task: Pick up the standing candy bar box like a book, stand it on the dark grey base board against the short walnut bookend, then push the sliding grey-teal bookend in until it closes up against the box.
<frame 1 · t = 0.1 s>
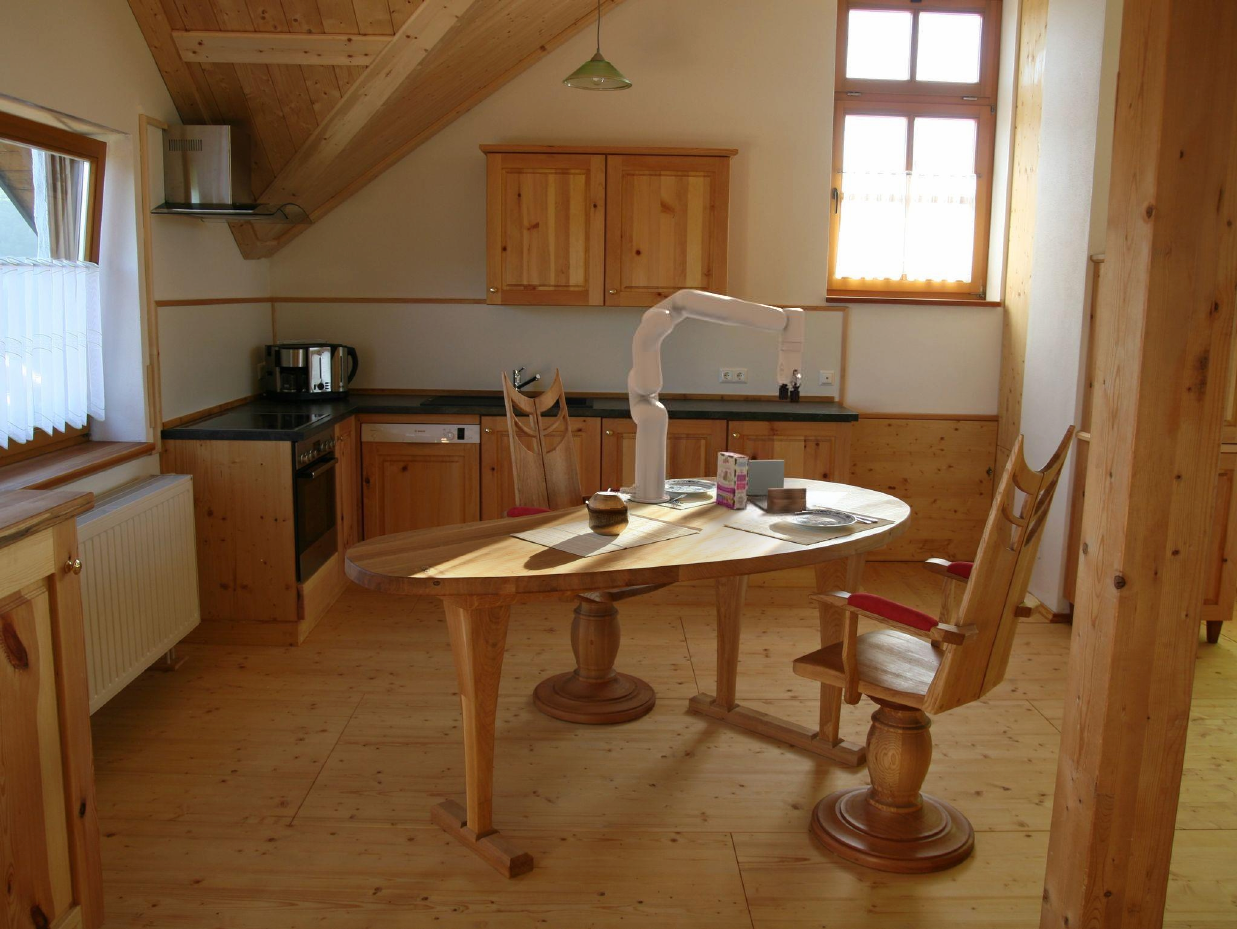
hand: (788, 401, 343), 31 cm above the table, fingers open, 9 cm apart
book rack: (777, 505, 334), on the table
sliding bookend: (761, 475, 349), point 7 cm above the table, slide at 0.0 cm
candy bar box: (731, 507, 332), on the table
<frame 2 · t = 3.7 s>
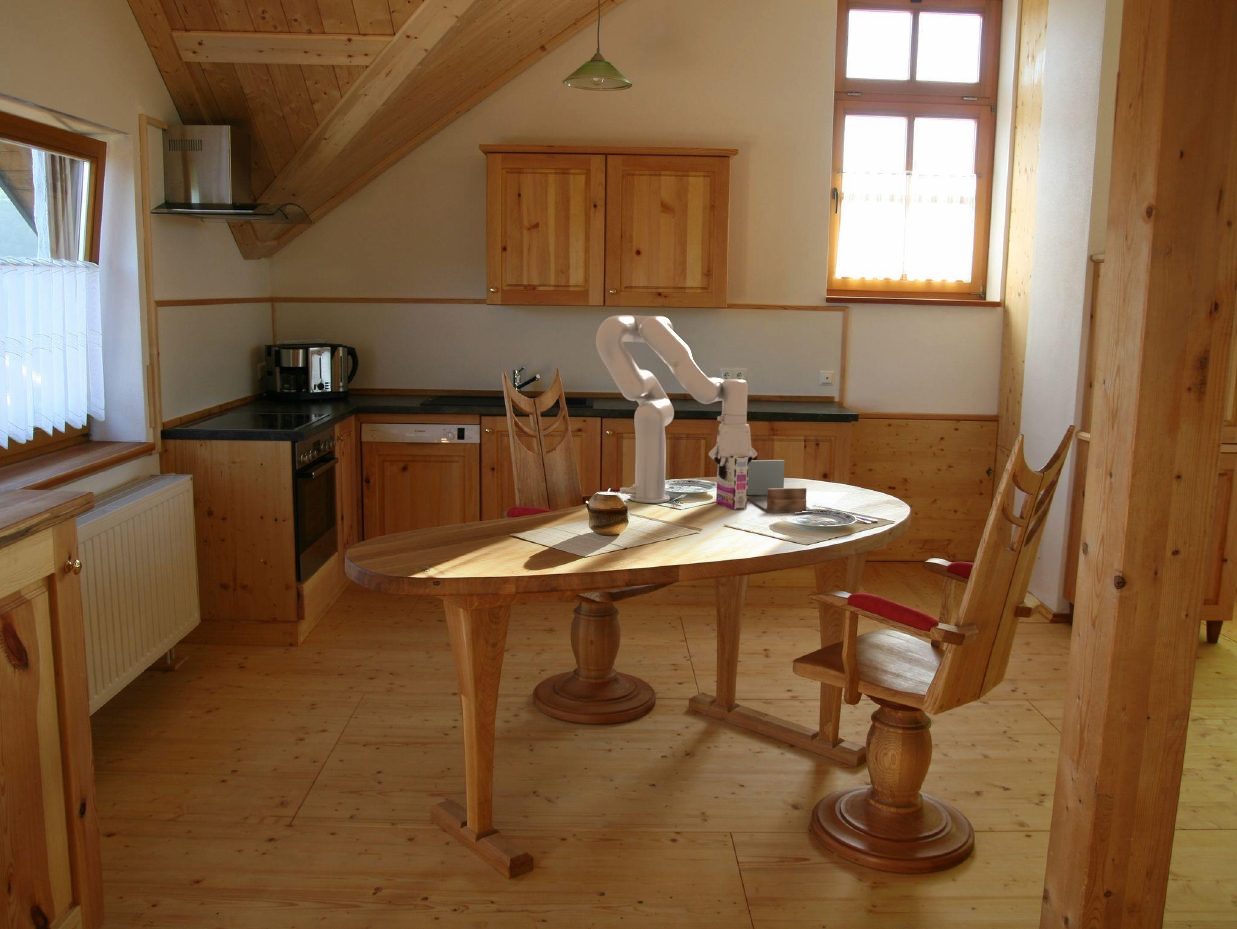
hand: (732, 477, 330), 9 cm above the table, fingers closed on candy bar box, 5 cm apart
candy bar box: (731, 507, 332), on the table, touching gripper
everything else where it was.
when the fingers open (11 cm above the table, at t = 10.2 s): candy bar box drops 1 cm, resting on book rack.
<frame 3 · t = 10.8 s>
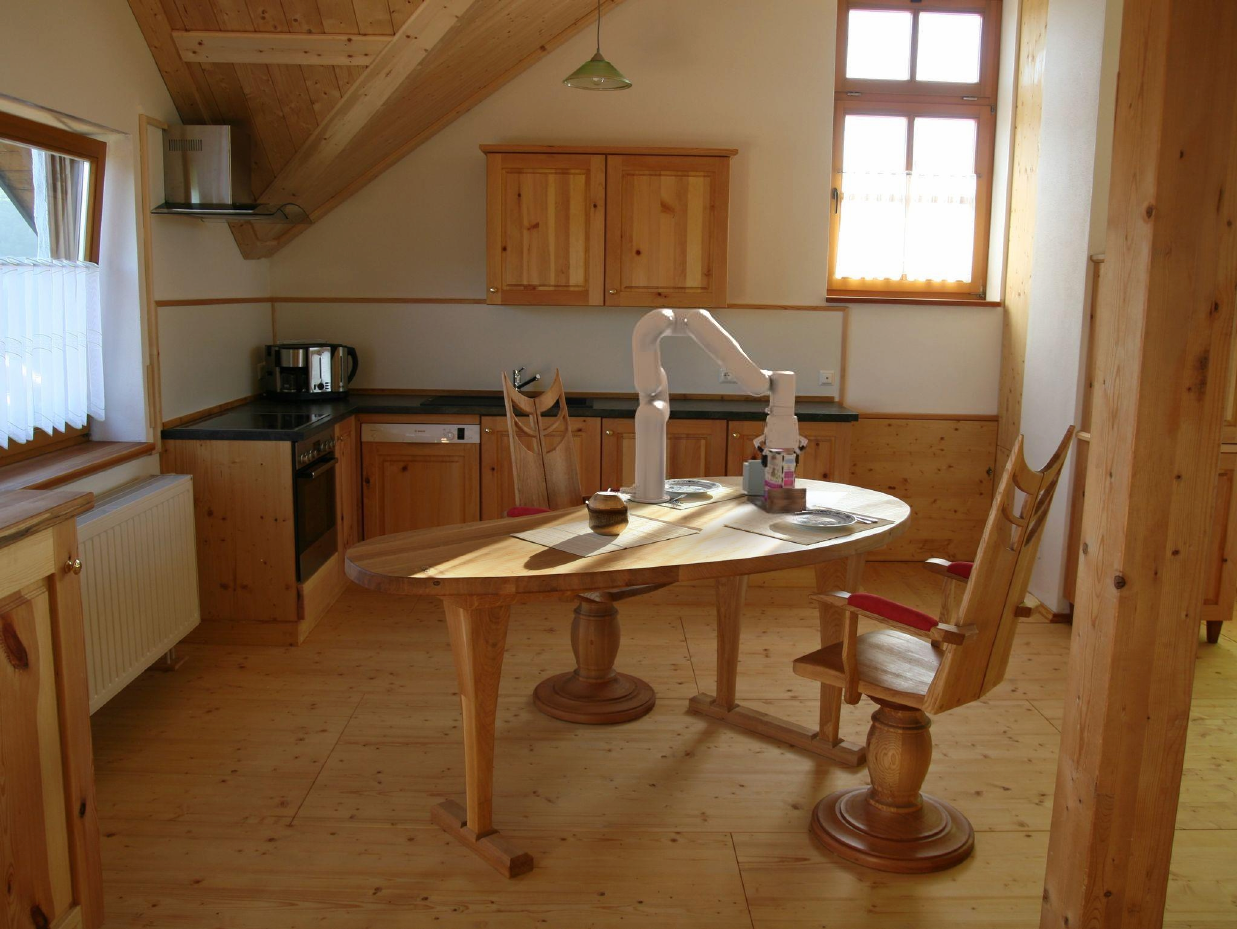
hand: (779, 466, 332), 12 cm above the table, fingers open, 9 cm apart
candy bar box: (778, 503, 334), point 1 cm above the table, touching book rack
everything else where it was.
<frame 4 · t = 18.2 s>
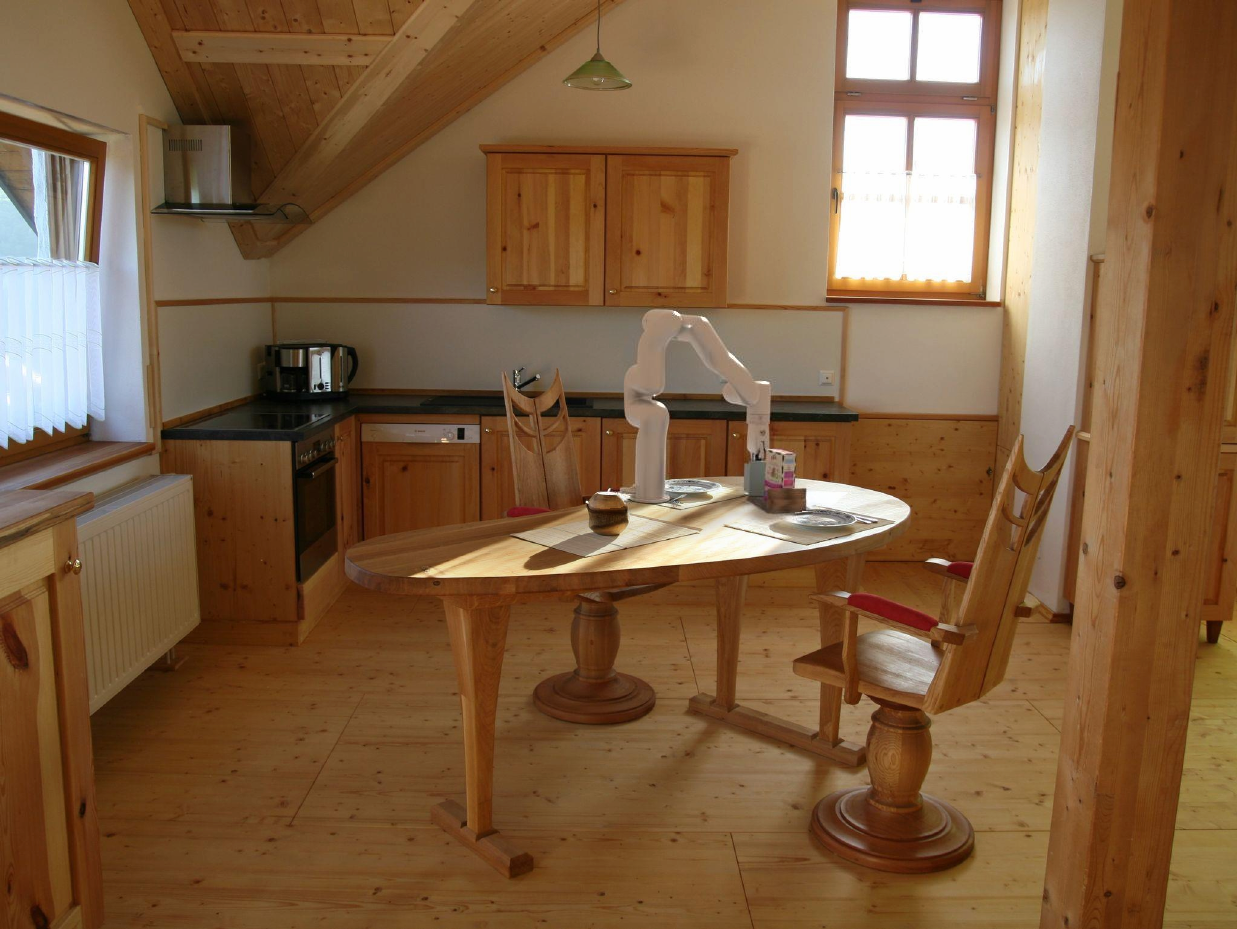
hand: (756, 473, 355), 6 cm above the table, fingers closed
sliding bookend: (763, 476, 348), point 7 cm above the table, slide at 1.4 cm, touching gripper
everything else where it was.
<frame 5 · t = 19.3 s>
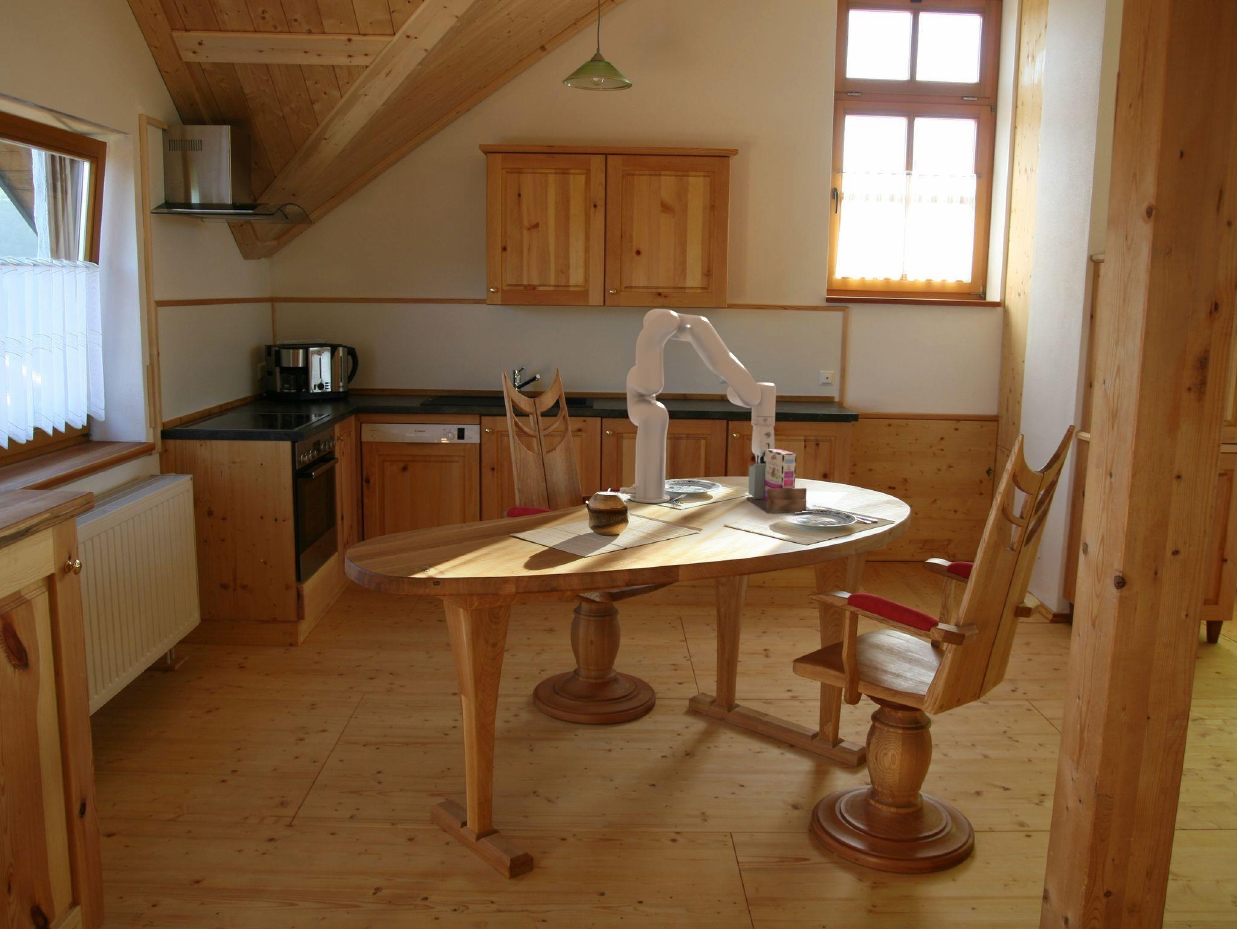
hand: (761, 476, 350), 6 cm above the table, fingers closed
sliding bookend: (768, 478, 343), point 7 cm above the table, slide at 6.6 cm, touching gripper
everything else where it was.
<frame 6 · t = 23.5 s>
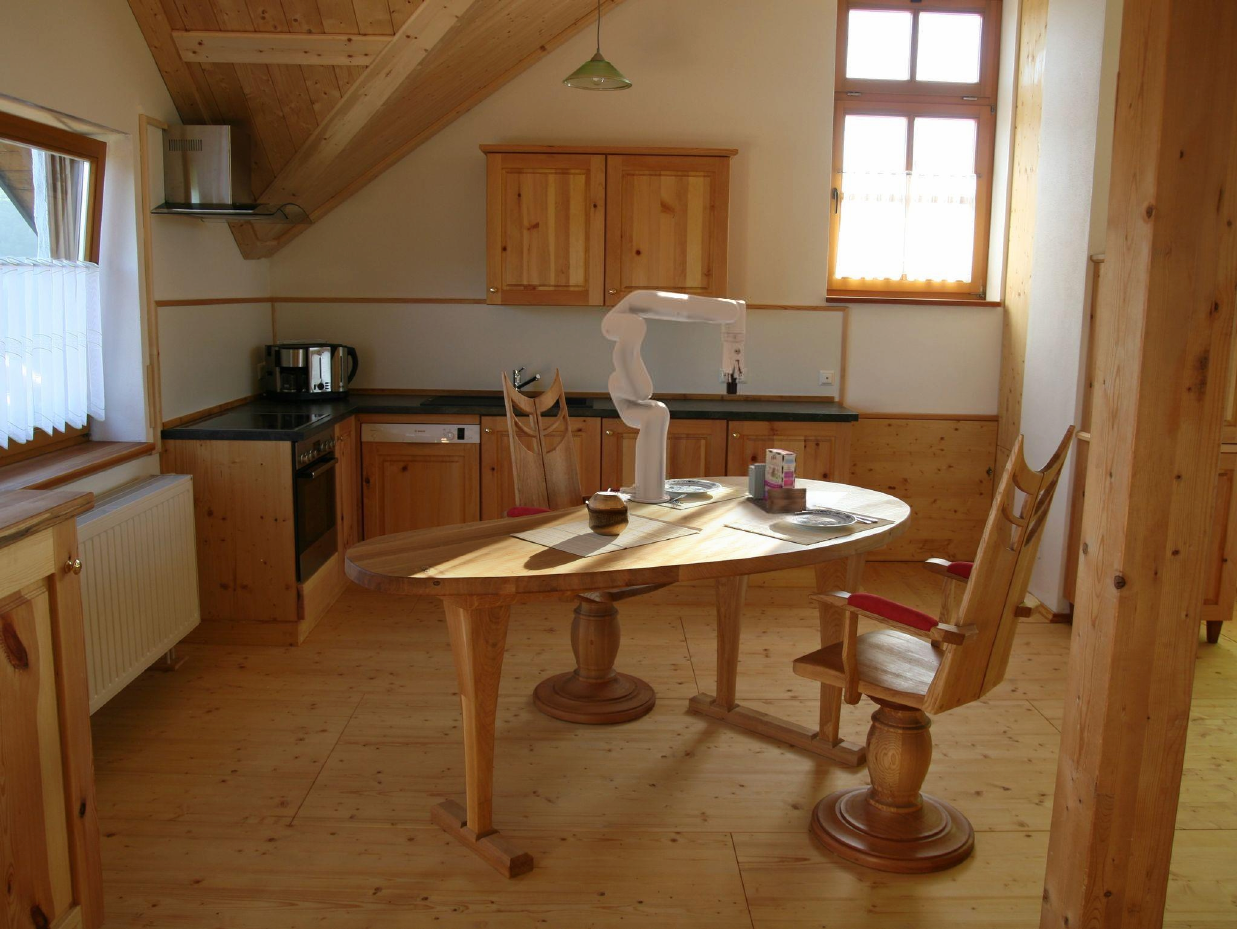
hand: (731, 394, 354), 32 cm above the table, fingers closed
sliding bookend: (768, 478, 343), point 7 cm above the table, slide at 6.5 cm
everything else where it was.
at the end: candy bar box 0.9 cm from the target spot on the book rack, point 0.6 cm above the book rack's base; candy bar box tilted 0°; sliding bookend slide at 6.5 cm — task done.
